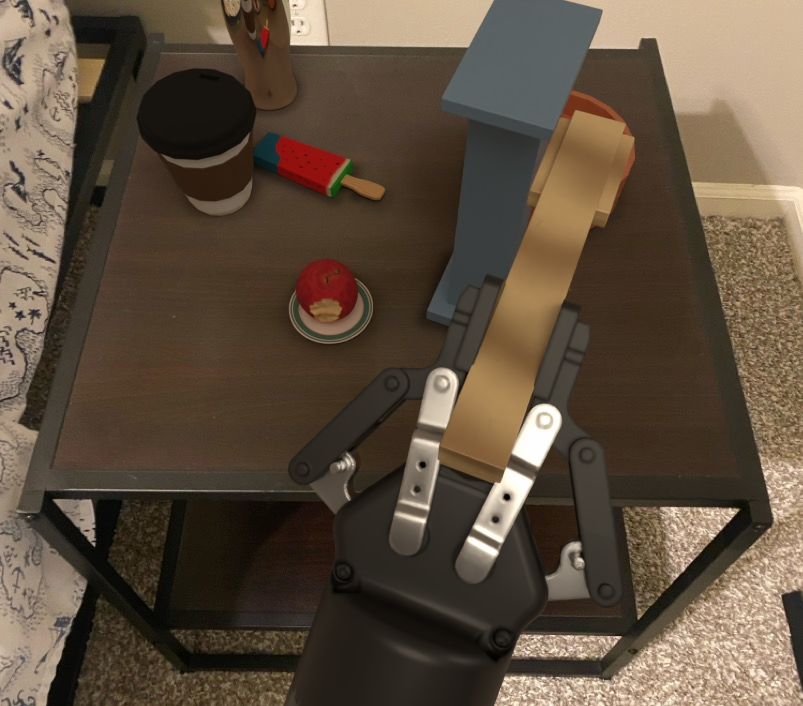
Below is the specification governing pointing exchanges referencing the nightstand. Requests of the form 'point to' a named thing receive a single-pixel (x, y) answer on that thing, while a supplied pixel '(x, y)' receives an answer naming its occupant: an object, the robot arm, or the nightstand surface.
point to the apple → (329, 303)
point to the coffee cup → (202, 136)
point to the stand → (507, 129)
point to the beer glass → (263, 48)
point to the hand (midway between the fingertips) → (532, 292)
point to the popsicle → (311, 167)
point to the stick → (535, 291)
